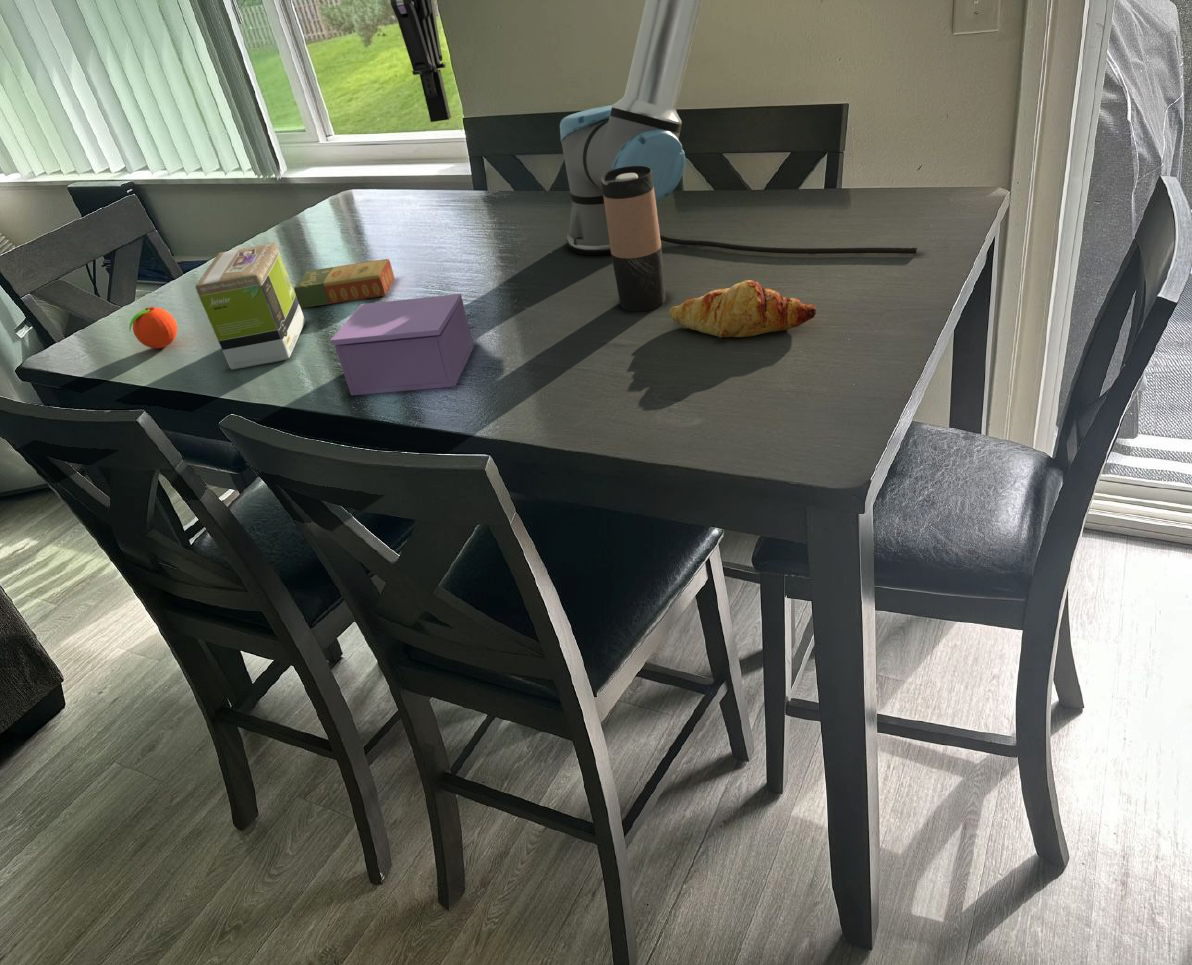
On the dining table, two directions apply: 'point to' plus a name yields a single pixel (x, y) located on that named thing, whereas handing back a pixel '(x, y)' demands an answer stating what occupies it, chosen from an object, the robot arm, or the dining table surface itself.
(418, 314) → the lid
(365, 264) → the carton
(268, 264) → the tea box
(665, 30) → the robot arm
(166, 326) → the clementine
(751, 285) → the croissant
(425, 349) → the file box
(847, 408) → the dining table surface
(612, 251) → the travel mug
